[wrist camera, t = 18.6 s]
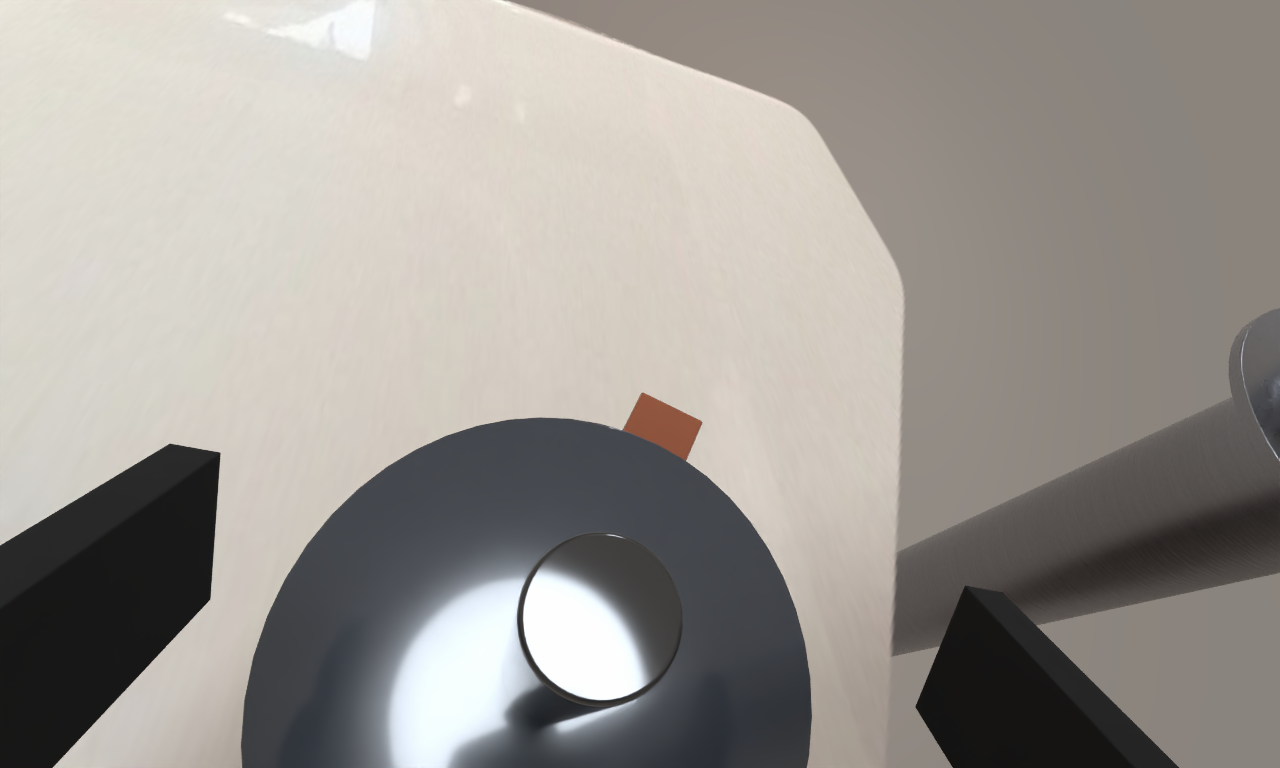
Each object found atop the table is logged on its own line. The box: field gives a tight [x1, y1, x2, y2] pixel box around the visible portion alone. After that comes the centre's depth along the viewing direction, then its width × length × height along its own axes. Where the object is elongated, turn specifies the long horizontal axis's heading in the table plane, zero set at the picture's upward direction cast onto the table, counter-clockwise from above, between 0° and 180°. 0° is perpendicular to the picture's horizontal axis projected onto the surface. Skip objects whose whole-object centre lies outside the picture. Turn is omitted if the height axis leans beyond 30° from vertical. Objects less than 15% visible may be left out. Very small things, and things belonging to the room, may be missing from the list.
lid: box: [241, 418, 812, 768], centre depth 14 cm, size 15×15×10 cm
